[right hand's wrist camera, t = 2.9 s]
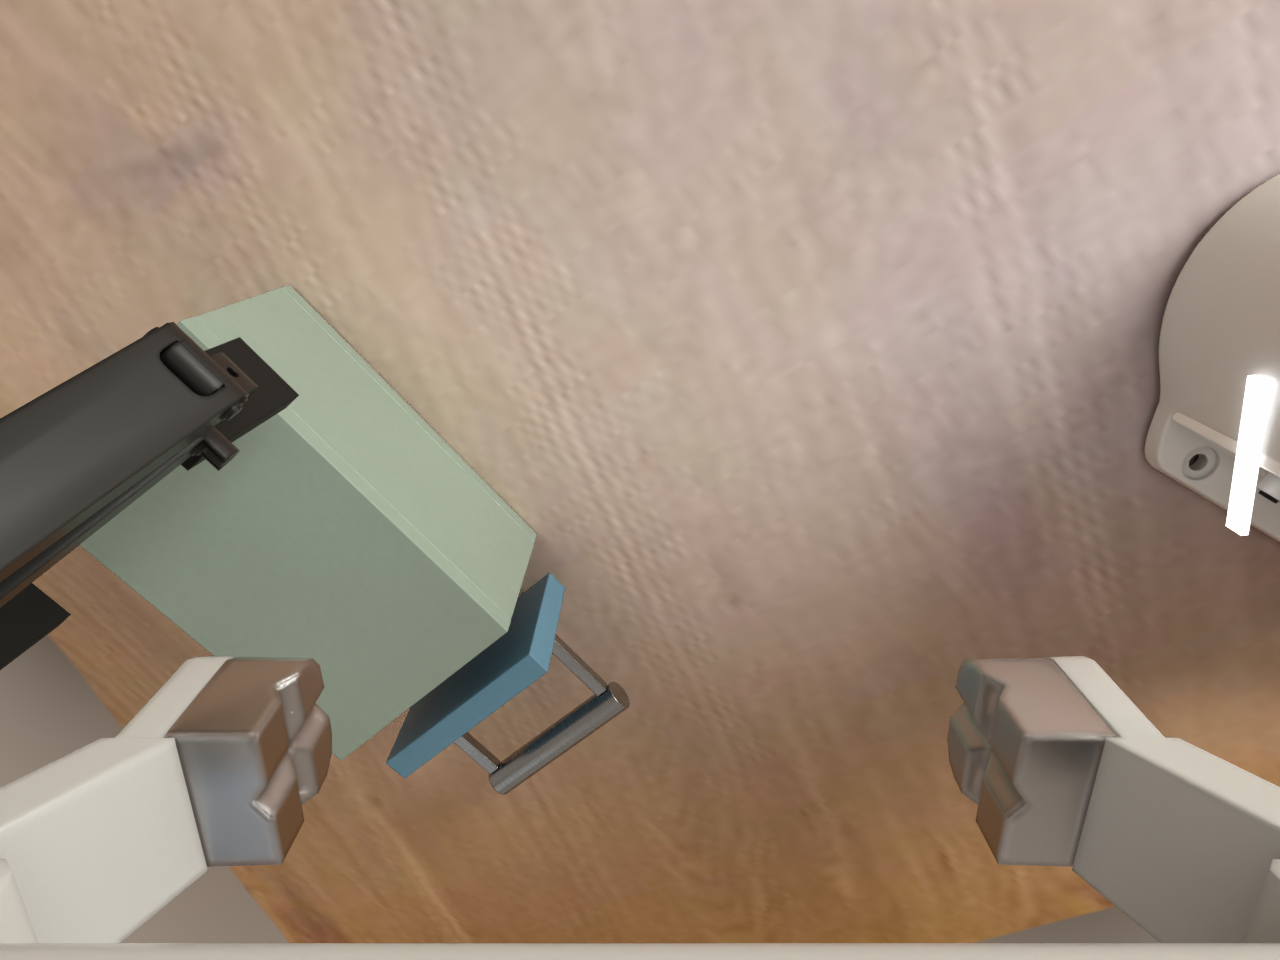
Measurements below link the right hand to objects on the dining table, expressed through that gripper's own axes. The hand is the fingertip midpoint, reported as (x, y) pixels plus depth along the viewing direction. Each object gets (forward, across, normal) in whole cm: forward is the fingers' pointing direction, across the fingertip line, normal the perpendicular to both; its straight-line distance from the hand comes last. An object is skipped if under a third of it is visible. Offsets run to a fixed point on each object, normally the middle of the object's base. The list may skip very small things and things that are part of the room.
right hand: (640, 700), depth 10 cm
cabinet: (+30, +15, +9) cm, 34 cm away
